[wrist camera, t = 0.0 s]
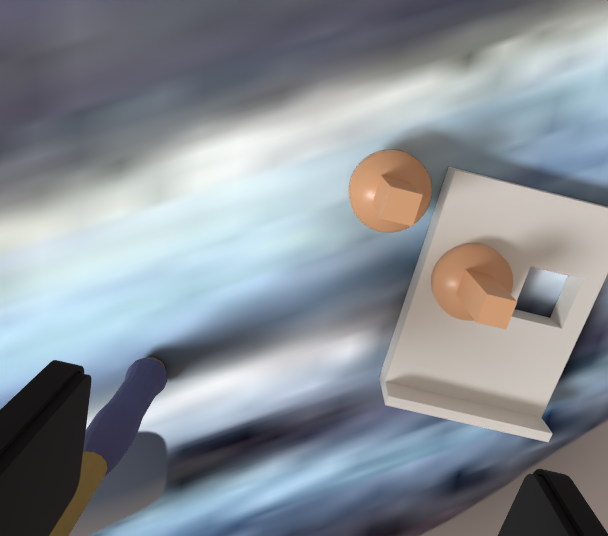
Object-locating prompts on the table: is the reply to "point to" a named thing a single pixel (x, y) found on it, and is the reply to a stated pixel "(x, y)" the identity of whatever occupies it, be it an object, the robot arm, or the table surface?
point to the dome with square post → (390, 190)
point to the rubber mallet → (113, 434)
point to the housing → (494, 304)
